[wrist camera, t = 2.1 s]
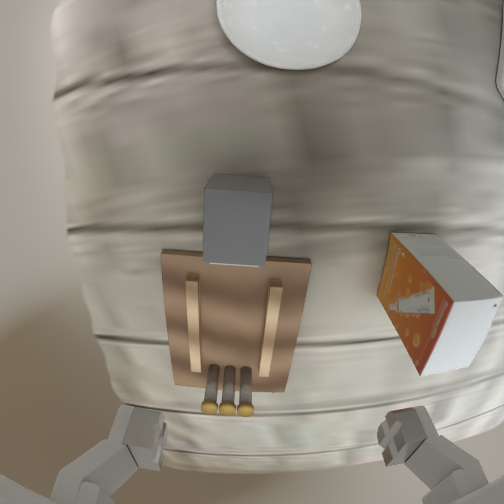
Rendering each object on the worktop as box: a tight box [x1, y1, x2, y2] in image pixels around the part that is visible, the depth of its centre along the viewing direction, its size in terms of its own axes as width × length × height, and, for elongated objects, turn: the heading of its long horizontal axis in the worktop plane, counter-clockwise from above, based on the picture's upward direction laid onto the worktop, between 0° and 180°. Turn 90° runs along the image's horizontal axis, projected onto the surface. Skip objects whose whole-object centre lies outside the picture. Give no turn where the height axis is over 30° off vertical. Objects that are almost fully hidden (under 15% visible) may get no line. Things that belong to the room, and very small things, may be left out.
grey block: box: [203, 174, 273, 267], centre depth 26 cm, size 6×5×6 cm
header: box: [161, 250, 312, 417], centre depth 31 cm, size 20×15×8 cm
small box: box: [377, 233, 503, 376], centre depth 25 cm, size 8×6×13 cm
